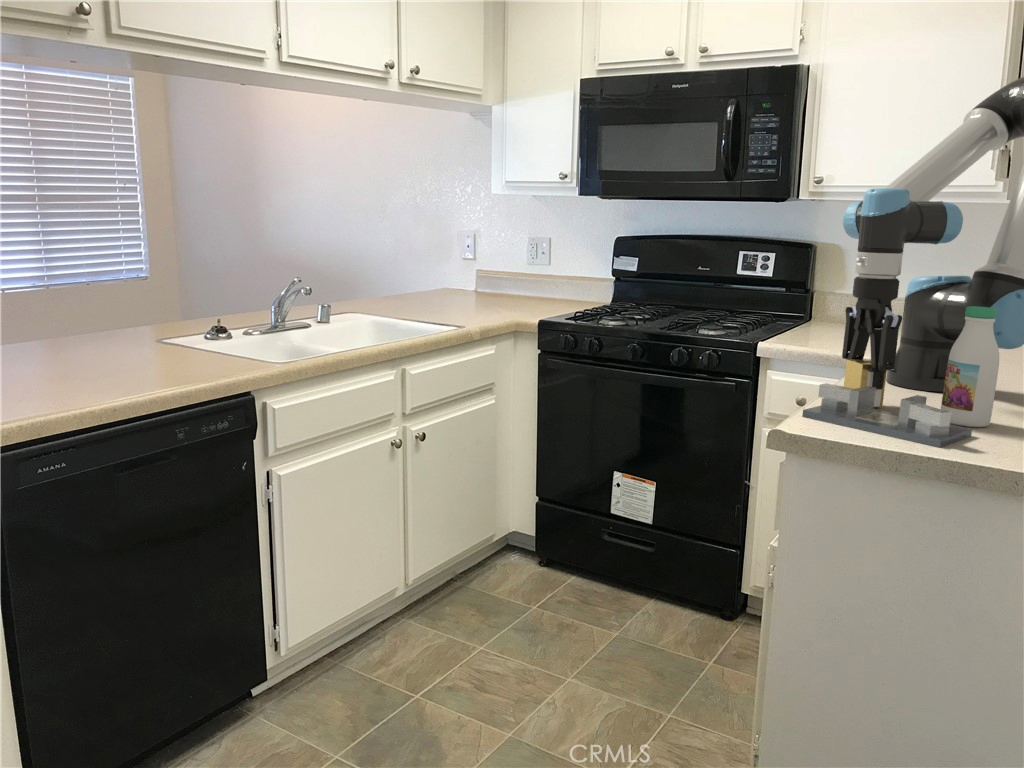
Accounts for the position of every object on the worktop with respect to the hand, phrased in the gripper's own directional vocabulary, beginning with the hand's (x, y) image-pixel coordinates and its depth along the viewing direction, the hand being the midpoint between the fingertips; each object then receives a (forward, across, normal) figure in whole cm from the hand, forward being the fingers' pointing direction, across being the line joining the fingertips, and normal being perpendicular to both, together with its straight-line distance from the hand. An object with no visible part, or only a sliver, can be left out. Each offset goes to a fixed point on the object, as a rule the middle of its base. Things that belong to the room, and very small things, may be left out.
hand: (862, 402), depth 153 cm
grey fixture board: (+1, +15, -6) cm, 16 cm away
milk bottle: (+1, +13, +11) cm, 17 cm away
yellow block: (0, 0, 0) cm, 0 cm away
